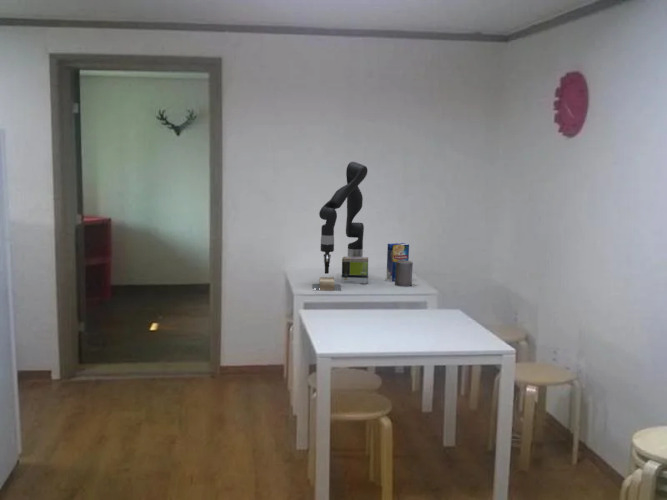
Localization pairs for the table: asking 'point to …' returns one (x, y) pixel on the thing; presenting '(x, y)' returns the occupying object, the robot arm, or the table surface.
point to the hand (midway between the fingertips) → (326, 273)
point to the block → (326, 283)
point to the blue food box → (395, 258)
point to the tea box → (355, 270)
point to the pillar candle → (403, 273)
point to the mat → (336, 288)
